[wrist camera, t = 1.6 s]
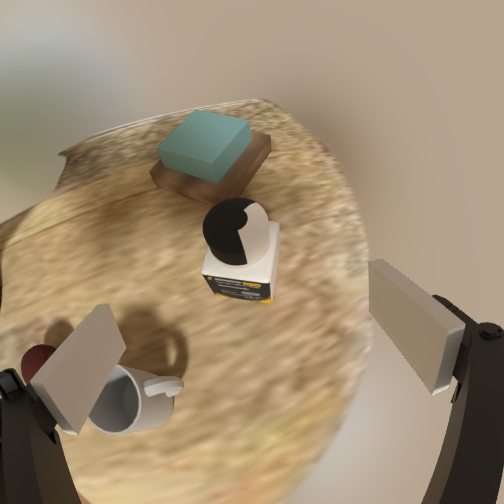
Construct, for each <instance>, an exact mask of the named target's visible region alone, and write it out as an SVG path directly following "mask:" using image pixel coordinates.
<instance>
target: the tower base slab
mask: <svg viewBox="0 0 504 504" xmlns="http://www.w3.org/2000/svg"><path fill="white" fill-rule="evenodd" d="M251 138H252V141H251V142H250V143H249V145H248V146H247V147H246V148H245V150H244V151H243V152H242V153H241V155H240V156H239V157H238V158H237V160H236V161H235V162H234V163H233V165H232V166H231V167H230V168H229V170H228V171H227V172H226V174H225V175H224V176H223V178H222V179H221V180H220V181H219V183H218V184H216V183H213V182H210V181H207V180H204V179H201V178H198V177H195V176H192V175H189V174H186V173H182V172H179V171H176V170H173V169H170V168H167V167H164V165H163V163H162V160H161V159H160V160H159V161H158V163H157V164H156V165H155V166H154V167H153V168H152V169H151V170H150V174H151V176H152V178H153V180H154V182H155V184H156V186H158V187H161V188H164V189H167V190H169V191H172V192H175V193H178V194H180V195H183V196H186V197H188V198H191V199H194V200H196V201H199V202H202V203H204V204H207V205H210V206H212V207H214V206H215V205H216V204H218V203H220V202H221V201H224V200H226V199H230V198H239V196H240V195H241V193H242V192H243V190H244V189H245V188H246V186H247V185H248V183H249V182H250V180H251V179H252V178H253V176H254V175H255V173H256V172H257V170H258V169H259V168H260V166H261V165H262V163H263V162H264V160H265V159H266V158H267V156H268V155H269V153H270V152H271V137H270V135H267V134H263V133H259V132H255V131H251Z"/></svg>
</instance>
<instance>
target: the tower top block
mask: <svg viewBox="0 0 504 504" xmlns="http://www.w3.org/2000/svg"><path fill="white" fill-rule="evenodd" d="M251 141H252V138H251V130H250V122H249V120H245V119H240V118H235V117H231V116H226V115H221V114H215V113H210V112H204V111H199V110H195V111H194V112H193V113H192V114H190V115H189V116H188V117H187V118H186V119H185V120H184V121H183V122H182V123H181V124H180V125H179V126H178V127H177V128H176V129H175V130H174V131H173V132H172V133H171V134H170V135H169V136H168V137H167V138H166V139H165V140H164V141H163V142H162V143H161V144H160V145H159V146H158V147H157V148H156V149H157V151H158V154H159V156H160V158H161V160H162V163H163V165H164V167H167V168H170V169H173V170H176V171H179V172H182V173H186V174H189V175H192V176H195V177H198V178H201V179H204V180H207V181H210V182H213V183H216V184H218V183H219V181H220V180H221V179H222V178H223V176H224V175H225V174H226V172H227V171H228V170H229V168H230V167H231V166H232V165H233V163H234V162H235V161H236V160H237V158H238V157H239V156H240V155H241V153H242V152H243V151H244V150H245V148H246V147H247V146H248V145H249V143H250V142H251Z"/></svg>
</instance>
